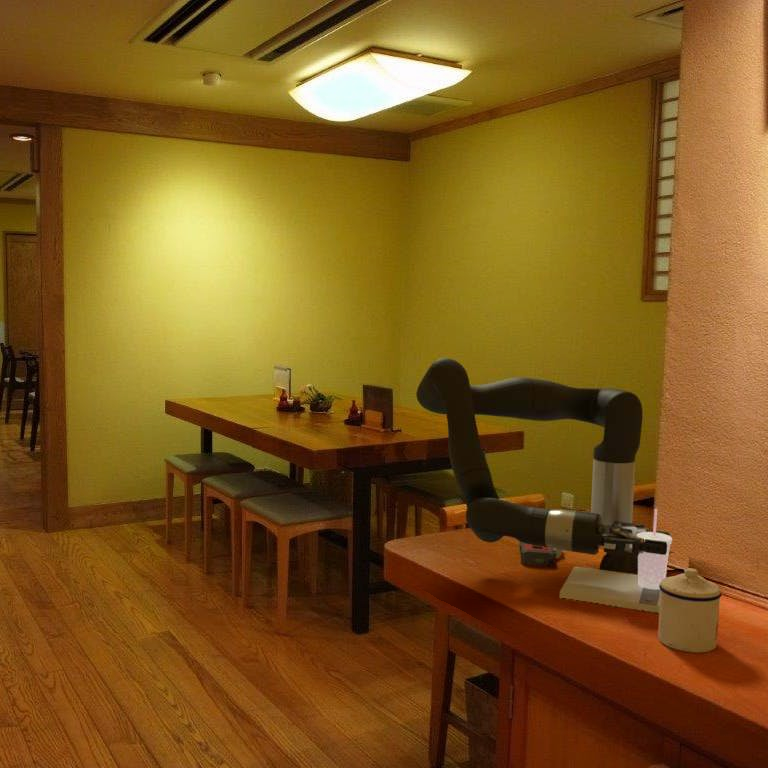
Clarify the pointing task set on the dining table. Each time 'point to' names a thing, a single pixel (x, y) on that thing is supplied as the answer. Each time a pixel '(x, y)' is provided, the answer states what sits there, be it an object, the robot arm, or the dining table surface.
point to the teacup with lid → (689, 612)
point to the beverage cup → (653, 560)
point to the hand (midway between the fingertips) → (667, 543)
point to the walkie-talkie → (538, 554)
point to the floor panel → (610, 589)
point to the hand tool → (619, 563)
